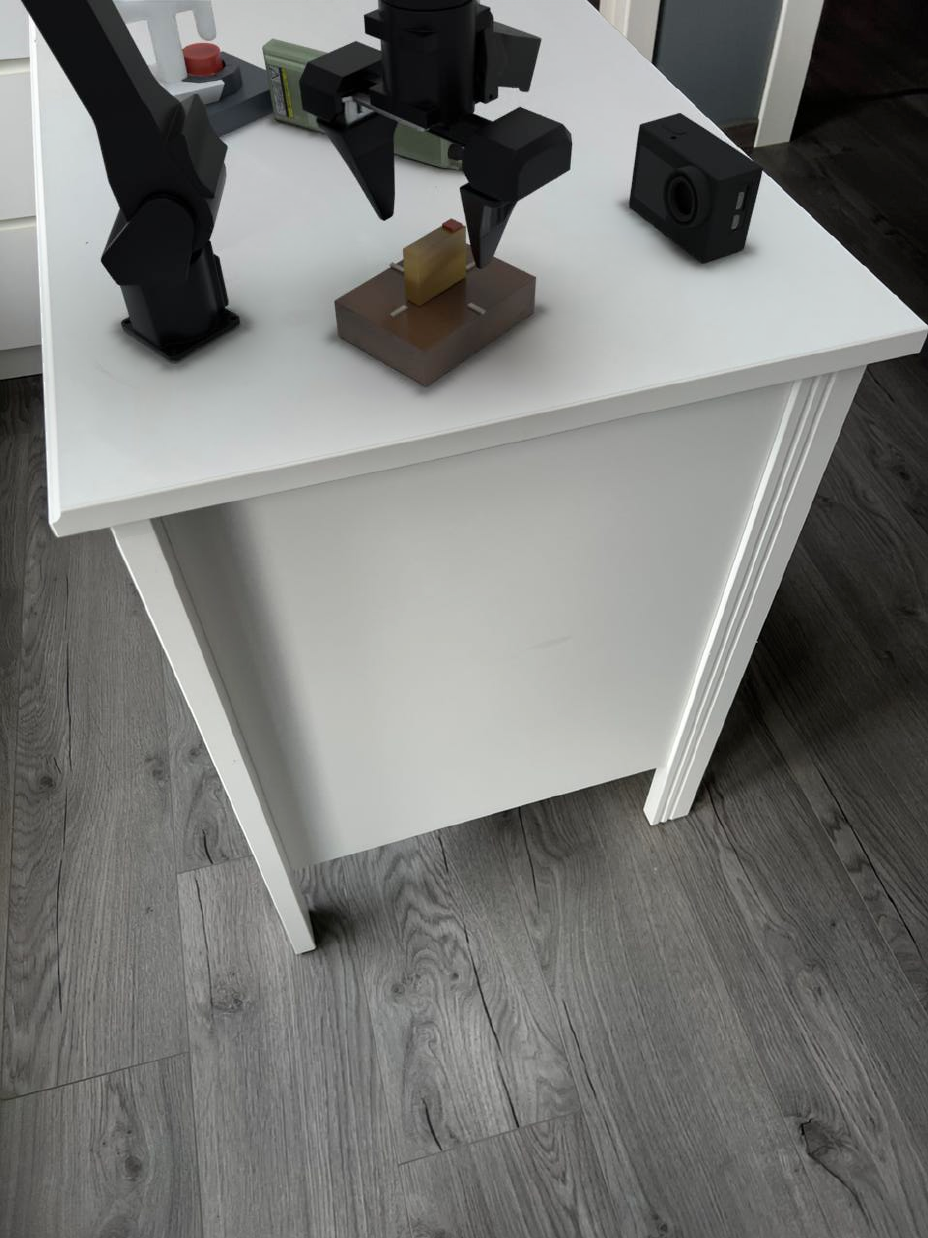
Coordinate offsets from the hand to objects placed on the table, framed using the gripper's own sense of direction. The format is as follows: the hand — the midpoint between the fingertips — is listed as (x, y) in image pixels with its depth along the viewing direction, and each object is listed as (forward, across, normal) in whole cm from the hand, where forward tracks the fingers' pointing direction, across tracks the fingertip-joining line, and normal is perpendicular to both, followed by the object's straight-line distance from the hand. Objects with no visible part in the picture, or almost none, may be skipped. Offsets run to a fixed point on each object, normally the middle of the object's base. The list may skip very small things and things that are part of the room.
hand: (433, 241), depth 70 cm
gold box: (+4, 0, 0) cm, 4 cm away
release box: (+7, +40, -11) cm, 42 cm away
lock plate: (+7, 0, 0) cm, 7 cm away
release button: (+3, +40, -11) cm, 42 cm away
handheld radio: (+7, +22, -17) cm, 29 cm away
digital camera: (+7, -6, -23) cm, 25 cm away
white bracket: (-2, +40, -8) cm, 41 cm away
